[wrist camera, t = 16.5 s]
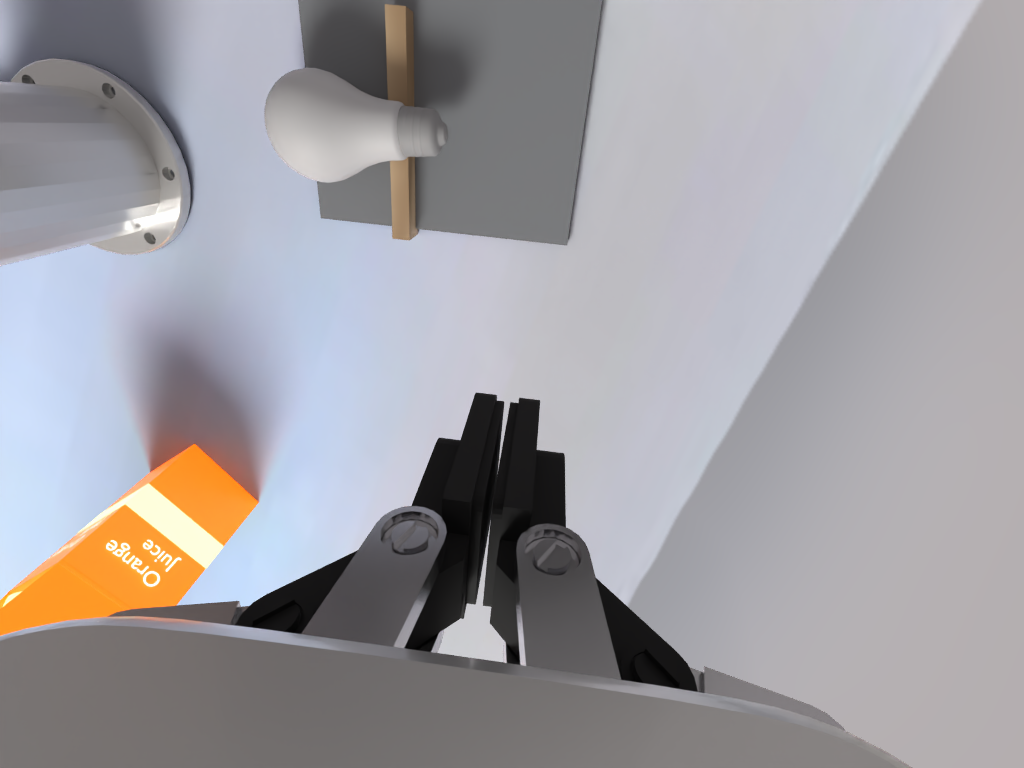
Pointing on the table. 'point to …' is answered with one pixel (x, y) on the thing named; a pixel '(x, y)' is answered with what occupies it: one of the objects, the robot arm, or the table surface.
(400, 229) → the rail
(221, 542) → the orange juice
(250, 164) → the table surface
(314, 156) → the lightbulb
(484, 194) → the mat
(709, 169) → the table surface
